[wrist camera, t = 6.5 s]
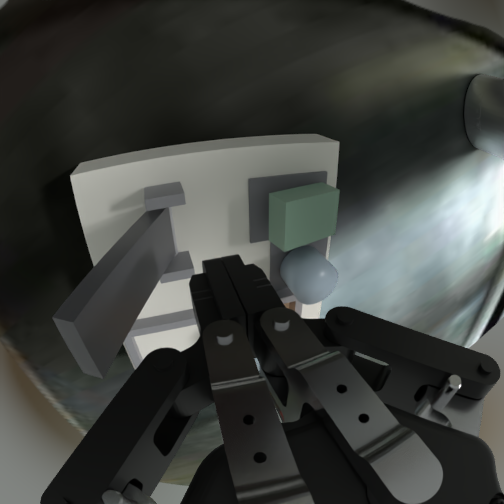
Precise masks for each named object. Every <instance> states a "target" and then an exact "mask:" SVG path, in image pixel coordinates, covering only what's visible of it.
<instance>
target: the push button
mask: <svg viewBox="0 0 504 504" xmlns="http://www.w3.org/2000/svg"><path fill="white" fill-rule="evenodd" d="M280 274H281V277H282V279H283V280H284V282H285V283H286V285H287V286H288V287H289V289H290V290H291V292H292V293H293V294H294V296H295V297H296V299H297V300H298V301H299V302H300V303H302V304H306V305H311V304H315V303H318V302H320V301H322V300H324V299H325V298H326V297H328V296H329V295H330V294H331V293H332V291H333V290H334V288H335V287H336V284H337V281H338V272H337V270H336V268H335V267H334V266H333V265H332V264H331V263H330V262H329V261H328V260H327V259H326V258H325V257H324V256H323V255H322V254H321V253H320V252H319V251H318V250H317V249H316V248H315V247H312V246H300V247H298V248H295V249H294V250H292V251H291V252H290V253H289V254H288V255H287V256H286V257H285V258H284V260H283V262H282V264H281V267H280Z"/></svg>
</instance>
